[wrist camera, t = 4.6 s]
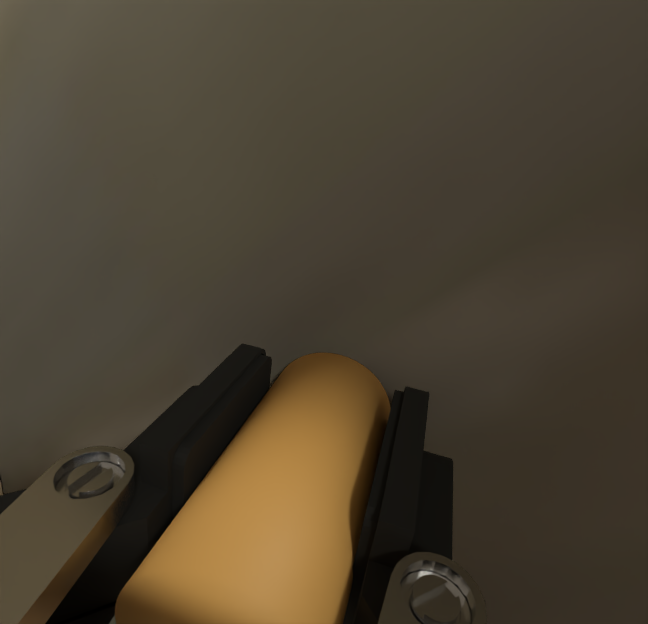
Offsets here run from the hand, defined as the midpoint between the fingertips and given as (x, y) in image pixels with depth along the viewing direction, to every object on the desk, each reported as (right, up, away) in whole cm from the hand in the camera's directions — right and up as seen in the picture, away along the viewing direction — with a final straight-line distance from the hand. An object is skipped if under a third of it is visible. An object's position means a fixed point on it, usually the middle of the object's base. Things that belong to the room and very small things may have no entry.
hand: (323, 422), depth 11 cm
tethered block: (-1, -6, +3) cm, 7 cm away
